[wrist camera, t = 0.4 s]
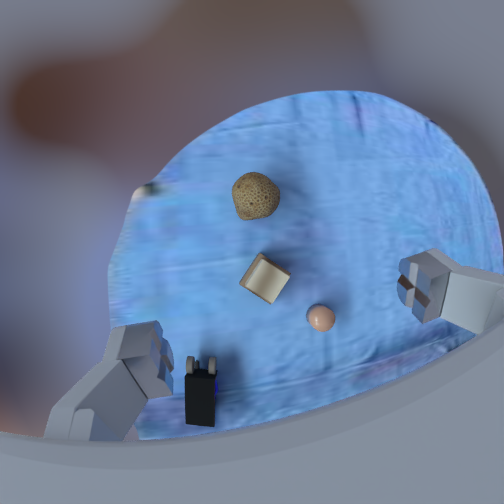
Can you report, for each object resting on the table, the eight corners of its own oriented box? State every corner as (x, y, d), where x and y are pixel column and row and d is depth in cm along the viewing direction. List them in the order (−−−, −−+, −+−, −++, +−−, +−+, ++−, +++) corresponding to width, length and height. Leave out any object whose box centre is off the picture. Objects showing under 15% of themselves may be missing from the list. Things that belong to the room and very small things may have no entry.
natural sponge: (276, 180, 61) (283, 166, 51) (277, 222, 61) (284, 216, 51) (232, 180, 60) (231, 166, 50) (232, 222, 60) (231, 216, 50)
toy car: (188, 350, 61) (189, 412, 59) (181, 358, 54) (184, 426, 52) (219, 352, 61) (219, 414, 60) (216, 360, 54) (216, 428, 52)
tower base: (286, 272, 61) (290, 273, 56) (267, 300, 61) (270, 304, 56) (258, 253, 61) (260, 253, 56) (239, 281, 60) (239, 284, 55)
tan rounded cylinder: (332, 313, 61) (339, 318, 56) (316, 330, 61) (323, 336, 56) (317, 299, 61) (323, 302, 56) (301, 316, 61) (306, 321, 56)
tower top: (285, 274, 56) (289, 276, 51) (269, 299, 56) (272, 303, 51) (261, 258, 56) (263, 259, 51) (244, 283, 56) (245, 286, 51)
